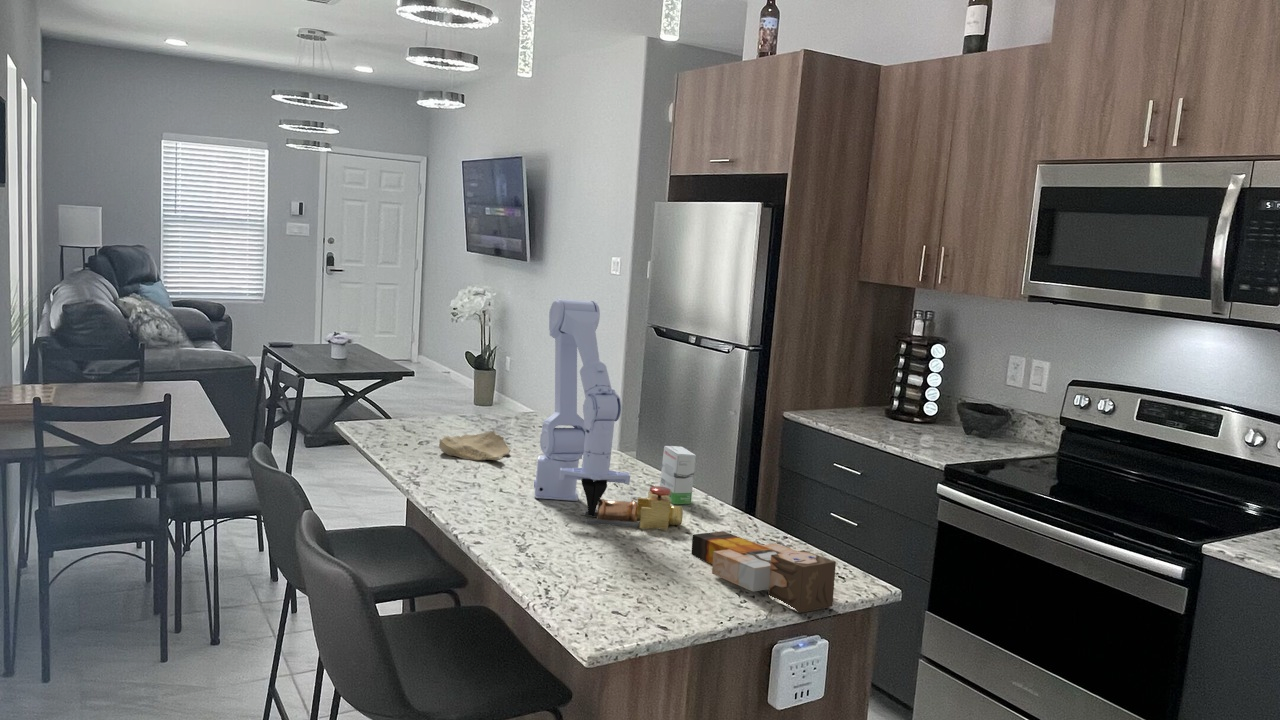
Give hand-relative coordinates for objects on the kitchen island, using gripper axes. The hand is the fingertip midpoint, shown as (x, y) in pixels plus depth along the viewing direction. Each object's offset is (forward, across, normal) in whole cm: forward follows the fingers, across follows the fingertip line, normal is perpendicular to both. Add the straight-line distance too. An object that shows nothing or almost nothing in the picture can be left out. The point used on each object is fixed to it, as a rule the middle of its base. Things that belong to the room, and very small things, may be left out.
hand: (590, 514), depth 195 cm
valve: (+1, +14, 0) cm, 14 cm away
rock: (+2, -25, +47) cm, 53 cm away
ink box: (+1, +21, +20) cm, 29 cm away
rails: (+1, +4, 0) cm, 5 cm away
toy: (+2, +29, -28) cm, 41 cm away
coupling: (+1, +5, 0) cm, 6 cm away
